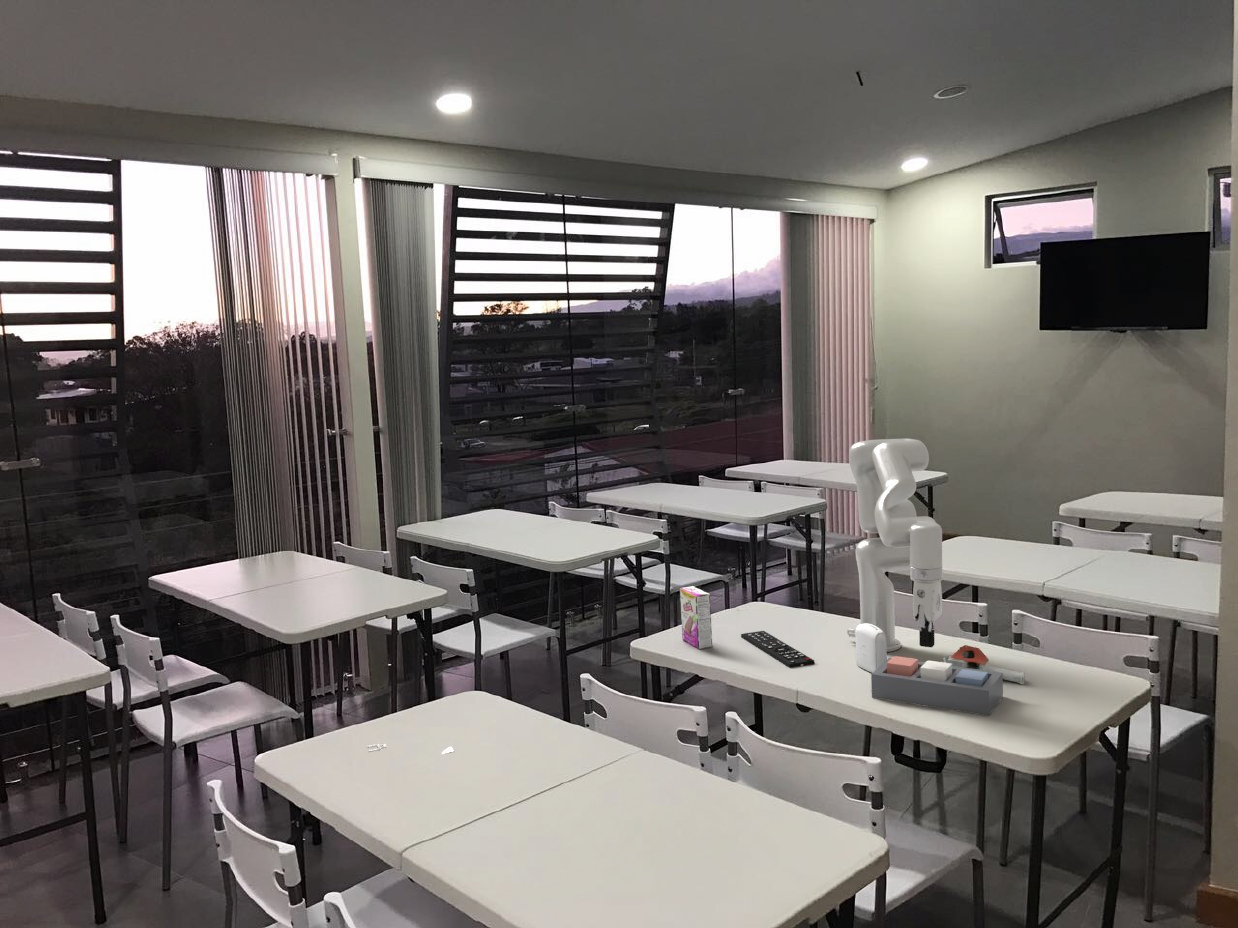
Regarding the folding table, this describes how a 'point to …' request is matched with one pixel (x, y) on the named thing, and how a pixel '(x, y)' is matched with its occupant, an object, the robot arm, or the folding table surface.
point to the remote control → (777, 649)
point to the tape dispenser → (981, 663)
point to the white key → (936, 671)
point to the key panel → (939, 690)
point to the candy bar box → (696, 617)
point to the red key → (902, 666)
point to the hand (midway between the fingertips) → (927, 645)
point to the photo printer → (870, 647)
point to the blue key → (972, 677)
